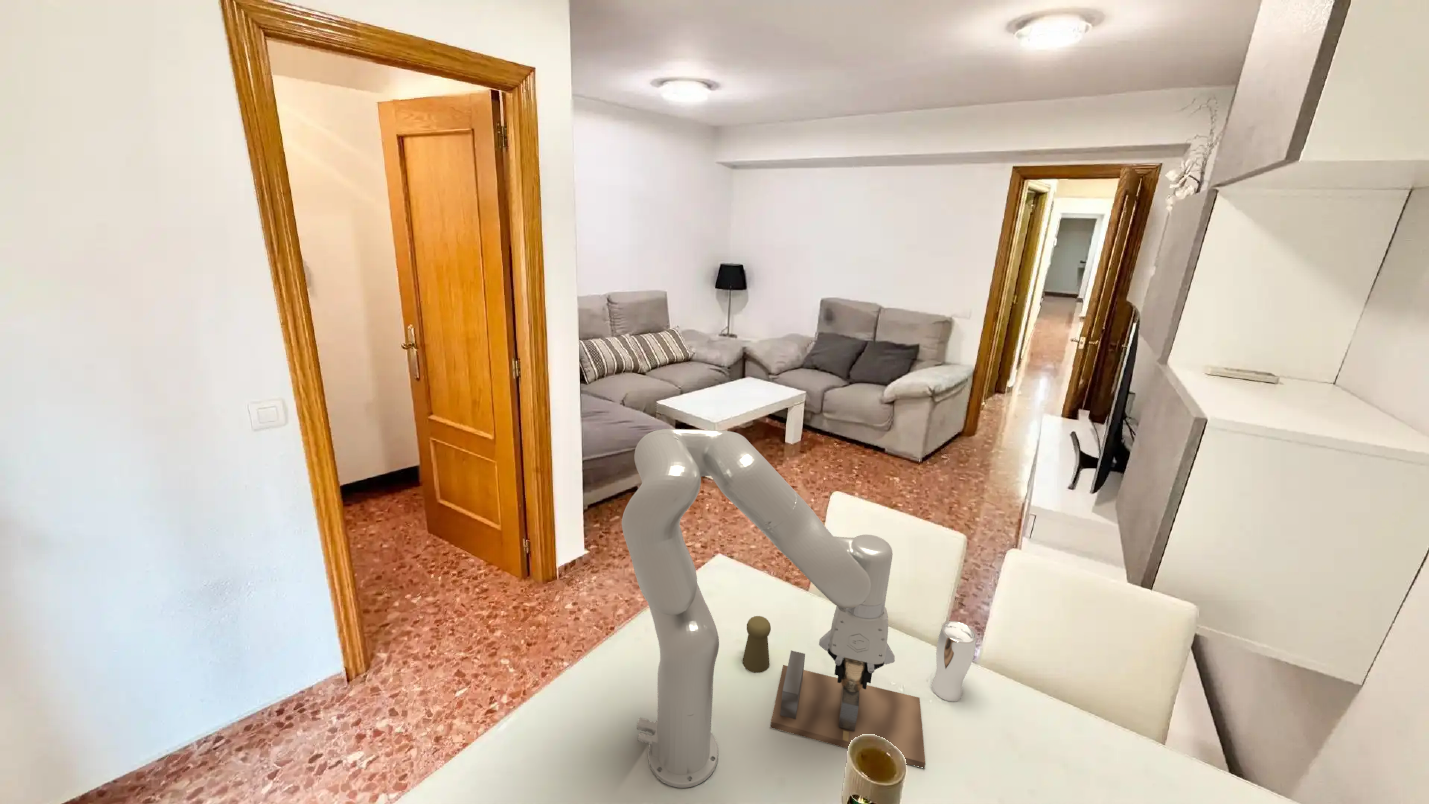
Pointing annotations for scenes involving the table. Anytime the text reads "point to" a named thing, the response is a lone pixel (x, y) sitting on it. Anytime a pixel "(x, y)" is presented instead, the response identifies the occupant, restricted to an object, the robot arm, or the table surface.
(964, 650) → the beer glass
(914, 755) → the base
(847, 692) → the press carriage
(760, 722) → the table surface
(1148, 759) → the table surface
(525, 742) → the table surface
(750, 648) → the olive brown pawn
